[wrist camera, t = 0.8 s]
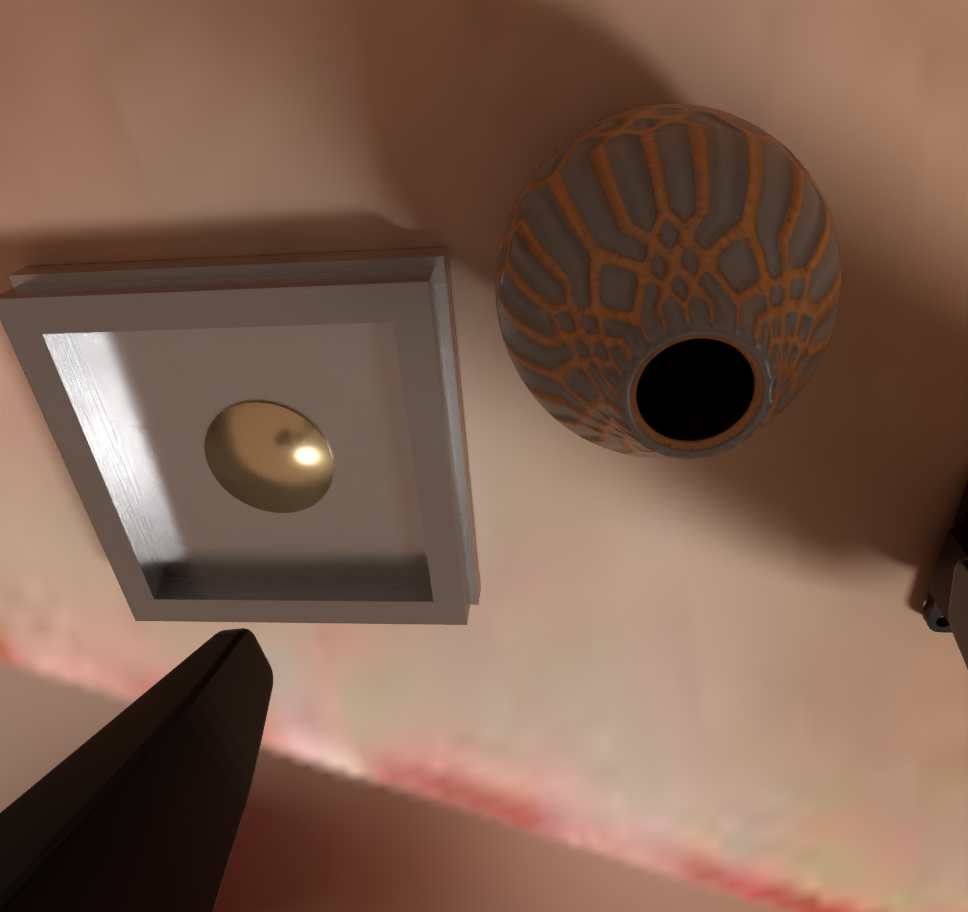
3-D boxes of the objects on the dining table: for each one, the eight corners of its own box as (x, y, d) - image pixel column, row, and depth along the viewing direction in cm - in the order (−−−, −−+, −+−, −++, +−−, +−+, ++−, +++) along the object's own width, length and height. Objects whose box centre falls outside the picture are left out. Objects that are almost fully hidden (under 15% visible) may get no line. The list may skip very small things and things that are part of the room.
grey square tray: (447, 247, 19) (436, 271, 17) (480, 588, 25) (475, 630, 24) (26, 266, 20) (-22, 290, 19) (158, 586, 27) (131, 626, 25)
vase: (470, 142, 18) (407, 245, 10) (764, 42, 16) (941, 78, 9) (546, 386, 21) (540, 597, 14) (795, 324, 19) (942, 524, 12)
